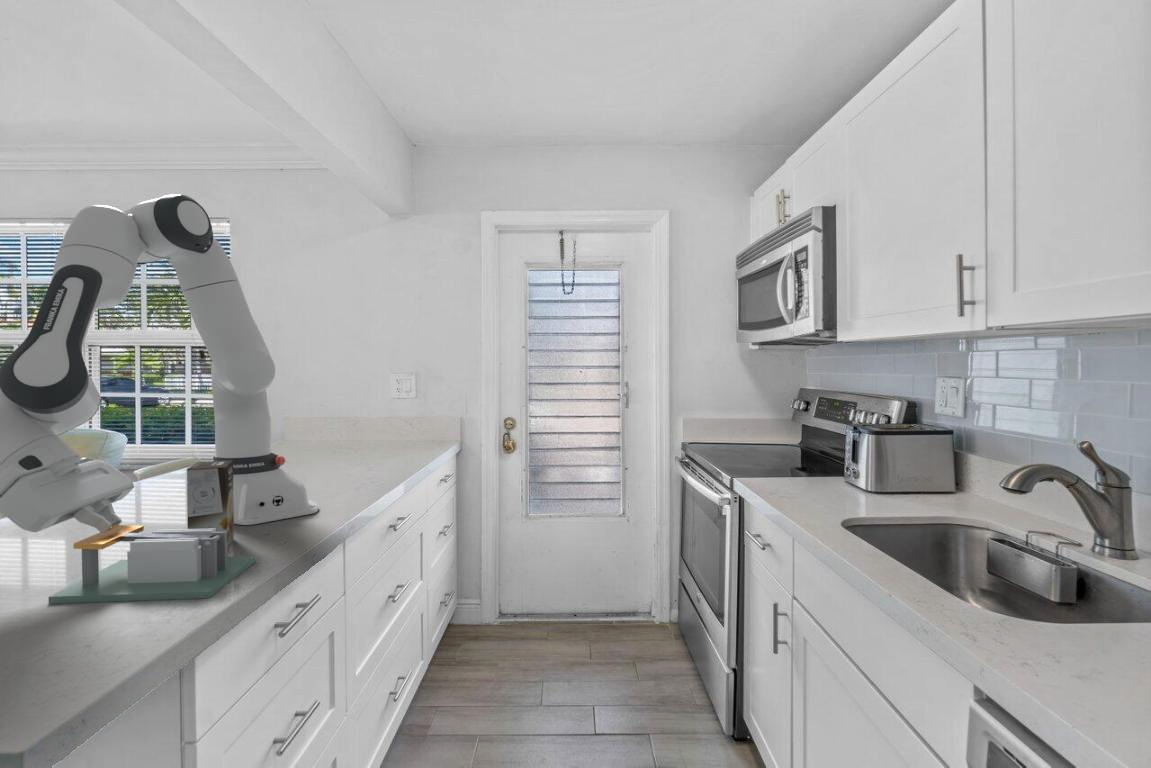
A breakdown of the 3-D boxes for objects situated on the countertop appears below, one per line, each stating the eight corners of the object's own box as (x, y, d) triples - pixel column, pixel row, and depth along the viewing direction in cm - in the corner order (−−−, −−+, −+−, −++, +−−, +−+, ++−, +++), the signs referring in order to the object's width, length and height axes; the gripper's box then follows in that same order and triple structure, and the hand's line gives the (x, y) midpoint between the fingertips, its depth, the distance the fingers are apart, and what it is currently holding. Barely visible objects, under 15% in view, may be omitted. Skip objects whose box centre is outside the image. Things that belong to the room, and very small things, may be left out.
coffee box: (227, 553, 108) (226, 467, 107) (186, 557, 105) (185, 469, 105) (234, 539, 116) (233, 459, 116) (197, 542, 114) (196, 461, 113)
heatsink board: (48, 603, 85) (47, 553, 84) (121, 565, 101) (120, 523, 100) (209, 598, 87) (208, 549, 87) (255, 561, 103) (255, 520, 103)
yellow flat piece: (73, 548, 88) (73, 543, 88) (117, 529, 97) (118, 525, 97) (192, 551, 89) (192, 546, 89) (224, 532, 99) (224, 528, 99)
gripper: (78, 468, 102) (140, 522, 103) (-31, 498, 82) (48, 564, 83) (104, 443, 102) (166, 496, 104) (2, 466, 82) (80, 533, 83)
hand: (113, 527), depth 93 cm, fingers closed
